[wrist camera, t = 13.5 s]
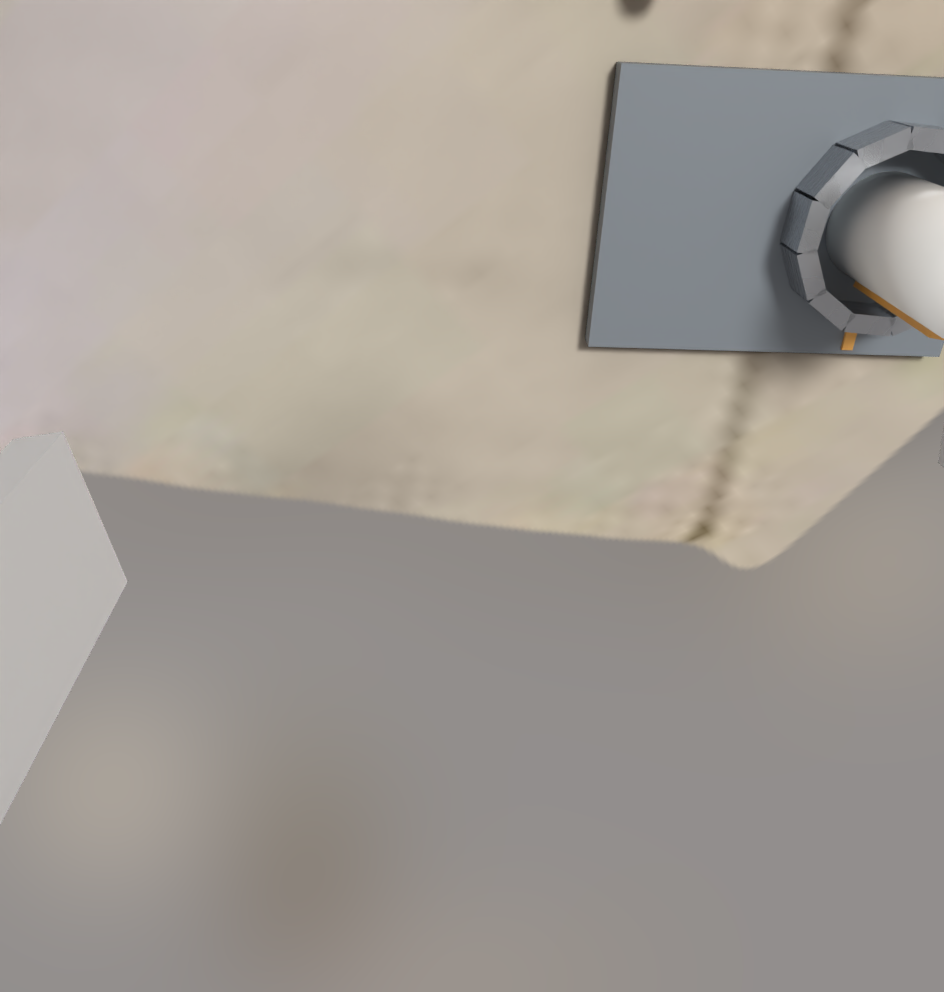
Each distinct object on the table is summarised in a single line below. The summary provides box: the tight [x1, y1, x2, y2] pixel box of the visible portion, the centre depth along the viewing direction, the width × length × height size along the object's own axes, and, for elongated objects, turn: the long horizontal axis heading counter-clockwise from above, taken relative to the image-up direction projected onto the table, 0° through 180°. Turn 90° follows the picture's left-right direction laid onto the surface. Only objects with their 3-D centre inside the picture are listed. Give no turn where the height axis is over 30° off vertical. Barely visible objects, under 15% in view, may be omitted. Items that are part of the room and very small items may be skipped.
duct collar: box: [780, 120, 944, 337], centre depth 44 cm, size 10×10×2 cm
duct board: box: [585, 62, 944, 357], centre depth 45 cm, size 20×14×1 cm
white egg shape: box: [826, 171, 944, 340], centre depth 41 cm, size 6×6×10 cm
